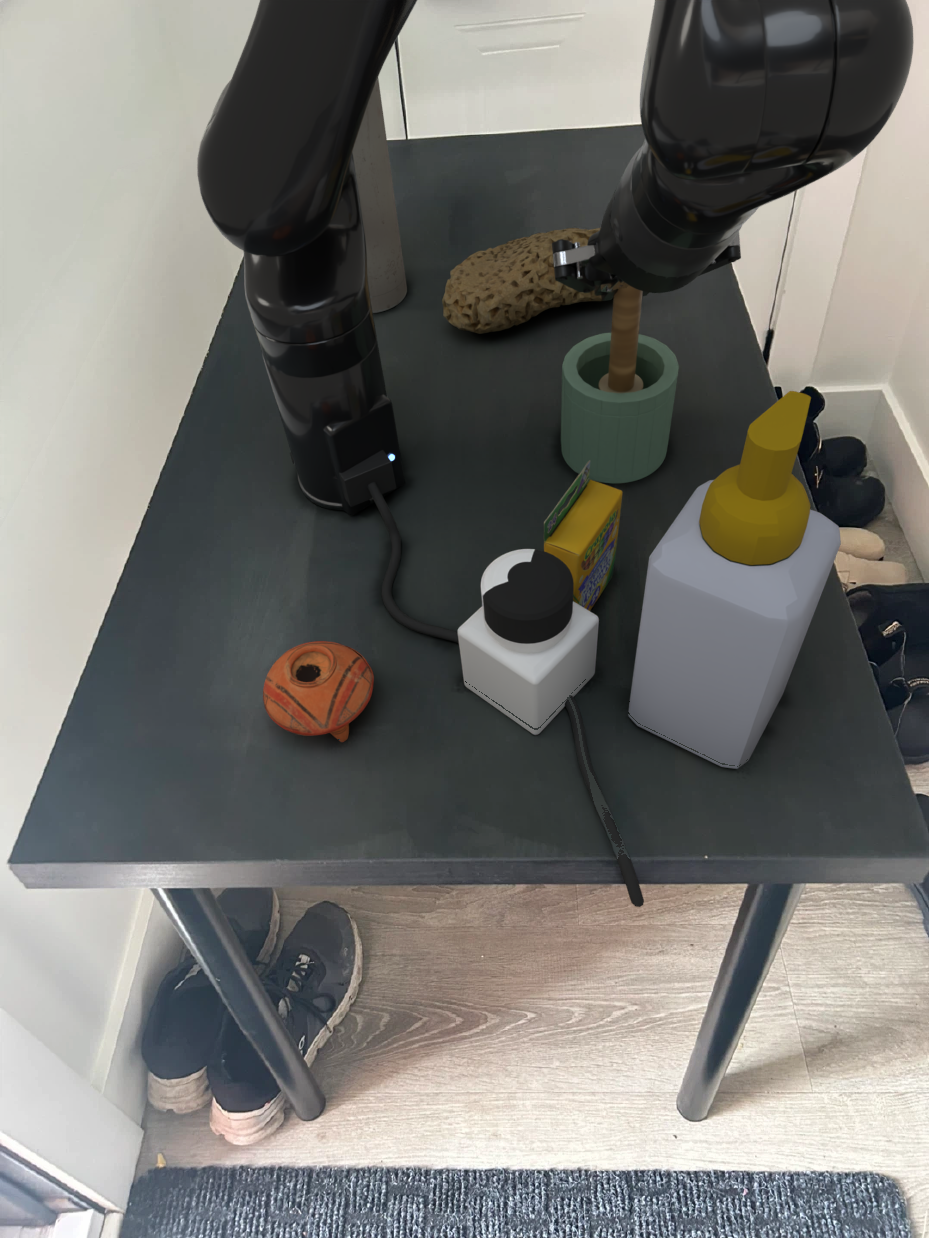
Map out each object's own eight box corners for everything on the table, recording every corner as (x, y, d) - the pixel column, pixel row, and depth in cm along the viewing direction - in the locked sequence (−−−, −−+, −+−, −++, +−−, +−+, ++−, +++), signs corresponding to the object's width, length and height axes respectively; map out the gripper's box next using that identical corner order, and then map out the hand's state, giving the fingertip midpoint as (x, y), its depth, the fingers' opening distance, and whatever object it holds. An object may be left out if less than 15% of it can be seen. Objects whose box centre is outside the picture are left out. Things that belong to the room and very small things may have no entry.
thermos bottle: (344, 275, 103) (289, -7, 81) (411, 274, 102) (374, -11, 80) (331, 314, 98) (268, 26, 76) (401, 314, 97) (359, 22, 75)
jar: (688, 448, 81) (702, 365, 74) (613, 499, 77) (621, 418, 70) (613, 400, 86) (619, 318, 78) (539, 446, 82) (539, 365, 75)
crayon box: (574, 641, 68) (579, 538, 59) (540, 626, 69) (540, 523, 60) (615, 577, 72) (626, 471, 63) (582, 564, 73) (588, 458, 64)
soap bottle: (787, 685, 64) (895, 409, 45) (738, 780, 60) (833, 521, 40) (674, 636, 68) (726, 359, 48) (619, 722, 64) (653, 457, 44)
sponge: (600, 270, 102) (429, 261, 98) (621, 210, 95) (438, 198, 91) (623, 354, 96) (441, 348, 92) (647, 297, 89) (453, 288, 85)
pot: (271, 771, 63) (245, 702, 59) (282, 696, 69) (258, 629, 65) (383, 756, 62) (364, 686, 58) (383, 682, 69) (366, 614, 64)
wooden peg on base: (631, 448, 78) (648, 268, 64) (590, 438, 79) (598, 260, 65) (644, 421, 80) (663, 242, 66) (603, 412, 81) (614, 234, 67)
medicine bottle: (596, 674, 66) (605, 569, 57) (536, 738, 63) (535, 638, 54) (522, 627, 69) (519, 520, 60) (462, 686, 66) (448, 583, 57)
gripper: (785, 132, 53) (704, 226, 70) (553, 159, 53) (530, 246, 70) (793, 262, 54) (712, 324, 71) (565, 288, 54) (540, 343, 71)
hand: (622, 285), depth 70 cm, fingers closed on wooden peg on base, 2 cm apart
